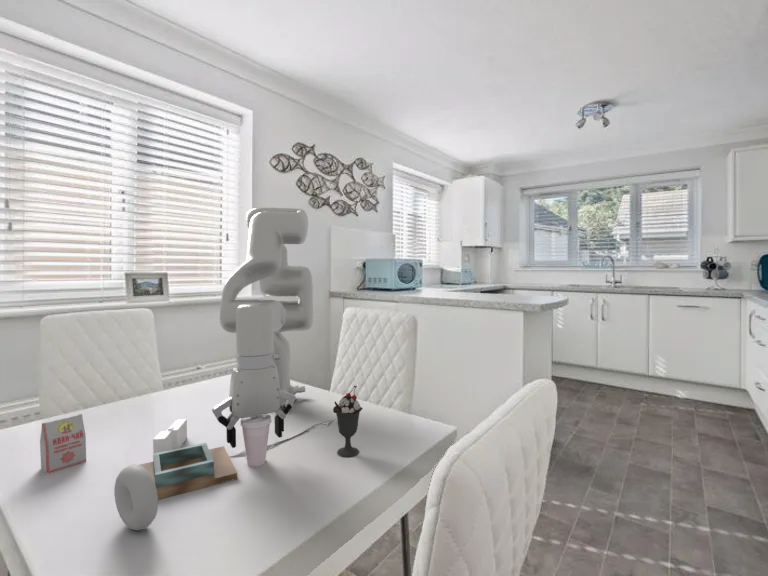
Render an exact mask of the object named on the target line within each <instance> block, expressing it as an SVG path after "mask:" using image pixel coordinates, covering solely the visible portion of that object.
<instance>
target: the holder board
mask: <svg viewBox="0 0 768 576" xmlns="http://www.w3.org/2000/svg"><path fill="white" fill-rule="evenodd" d="M152 459H153V461H150V462H145V463H139V464H138V465H139V466H142V467H144V468H145V469H146V470H147V471H148V472H149V474H150V475H151V477H152V478H153V481H154V483H155V486H156V490H157V495H158V500H161V499H165V498H166V499H167V498H169V497H174V496H177V495H180V494H184V493H188V492H192V491H196V490H200V489H203V488H208V487H211V485H212V486H216V485H218V484H223V483H227V482H231V481H233V480H237V479H238V471H237V469H236V467H235V466H234V463H233V462H232V460H231V457H230V455H229V454H228V451H227V450H226V448H225V446H224V445H223V446H218V447H214V448H209V447H208V444H207V442H204V443H203V442H202V443H198V444H194V445H188V446H183V447H180V448H178V449H173V450H168V451H164V452H159V453H154V454H153V453H152ZM230 480H231V481H230ZM215 484H216V485H215ZM207 486H208V487H207Z"/></svg>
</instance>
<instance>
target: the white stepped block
mask: <svg viewBox="0 0 768 576" xmlns="http://www.w3.org/2000/svg"><path fill="white" fill-rule="evenodd" d="M187 439H188V419H187V418H181V419H180V418H179V419H175V420H174V422H173V423H172V424H171V425H170V426H169V427H168V428H167V430H160V431H159V433H157V434H156V436H155V437H154V438H153V439H152V445H153V446H152V450H153V452H152V455H153V454H154V453H159V452H164V451H168V450H173V449H178V448H182V446H183V445H184V443H185V442H186V441H187Z"/></svg>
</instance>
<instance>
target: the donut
mask: <svg viewBox="0 0 768 576" xmlns="http://www.w3.org/2000/svg"><path fill="white" fill-rule="evenodd" d="M139 465H140V464H131V465H128V466H126V467H125V468H122V470H120V472H119V474H117V477H116V479H115V482H114V492H113V493H114V501H115V506H116V509H117V510H116V511H117V513H118V515H119V517H120V519H121V520H122V522H123V523H124V525H125V526H126V527H127V528H129V529H131V530H133V531H141V530H143V529H147V528H148V527H149V526H150V525H151V524H152V522H154V520H155V519H156V516H157V513H158V510H159V509H158V508H159V499H158V495H157V490H156V486H155V483H154V481H153V478H152V477H151V475H150V474H149V472H148V471H147V470H146V469H145V468H144V467H142V466H139Z"/></svg>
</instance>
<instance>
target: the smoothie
mask: <svg viewBox="0 0 768 576" xmlns="http://www.w3.org/2000/svg"><path fill="white" fill-rule="evenodd" d="M271 423H272V416H271V415H270V413H268V414H263V415H258V416H252V417H247V418H240V423H239V425H240V426H241V428H242V436H243V442H244V450H246V456H245V457H246V463H247V466H249V467H260V466H262V465H264V464H265V463H266V461H267V460H266V459H267V451H268V450H267V445H268V440H269V434H270V424H271Z"/></svg>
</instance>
